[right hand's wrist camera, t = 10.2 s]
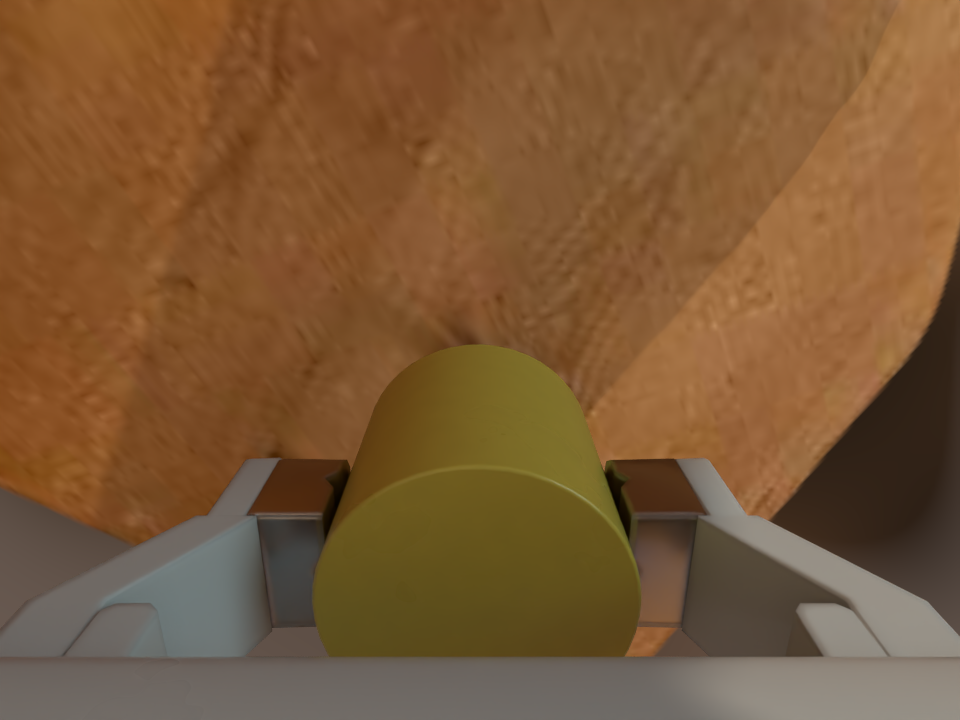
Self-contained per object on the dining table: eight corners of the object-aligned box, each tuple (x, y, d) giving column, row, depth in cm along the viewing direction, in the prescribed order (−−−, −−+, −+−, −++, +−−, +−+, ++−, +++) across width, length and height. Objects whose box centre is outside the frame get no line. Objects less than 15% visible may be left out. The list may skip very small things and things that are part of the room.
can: (419, 306, 11) (384, 410, 7) (628, 399, 11) (706, 544, 7) (335, 493, 12) (266, 672, 8) (527, 567, 13) (549, 768, 9)
